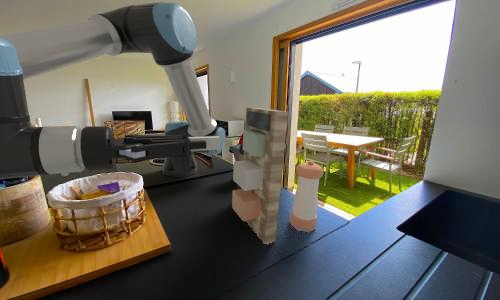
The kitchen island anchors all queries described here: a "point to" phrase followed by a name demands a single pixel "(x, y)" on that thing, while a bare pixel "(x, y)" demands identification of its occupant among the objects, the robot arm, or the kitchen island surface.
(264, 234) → the keypad panel
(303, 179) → the salt shaker
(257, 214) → the block
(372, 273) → the kitchen island surface
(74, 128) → the robot arm
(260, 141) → the key top
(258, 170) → the key middle
